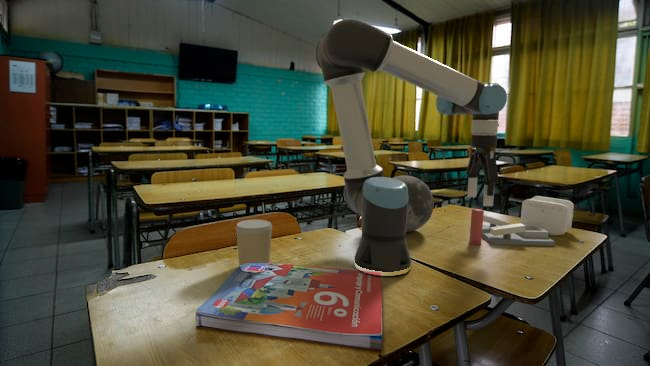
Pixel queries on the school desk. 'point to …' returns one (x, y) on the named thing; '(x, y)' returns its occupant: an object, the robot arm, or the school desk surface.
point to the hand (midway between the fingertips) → (479, 201)
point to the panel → (519, 237)
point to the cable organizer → (548, 214)
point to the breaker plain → (495, 221)
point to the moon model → (417, 202)
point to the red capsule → (476, 226)
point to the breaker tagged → (507, 229)
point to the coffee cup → (254, 241)
